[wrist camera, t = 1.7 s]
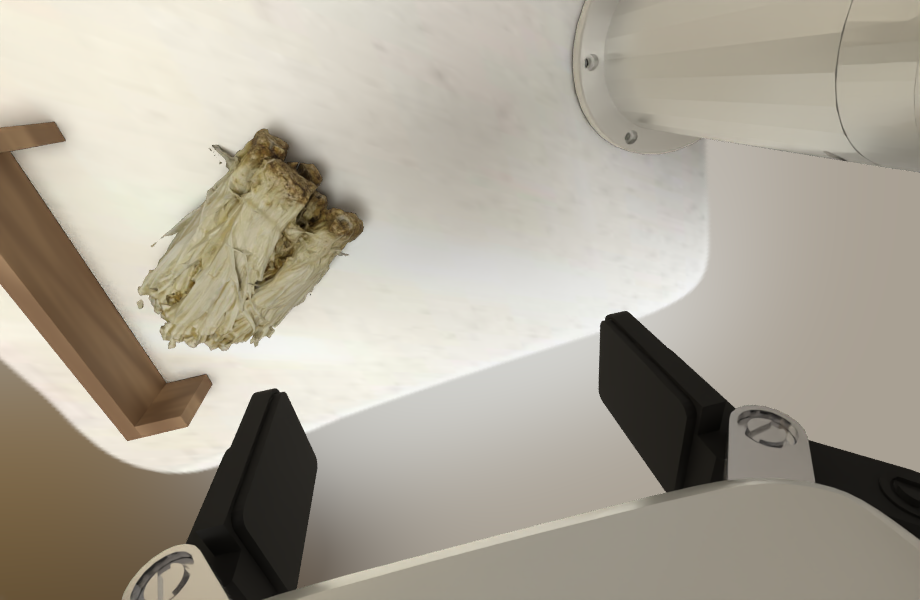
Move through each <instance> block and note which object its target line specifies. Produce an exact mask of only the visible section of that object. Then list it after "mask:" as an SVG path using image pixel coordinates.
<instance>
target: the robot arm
mask: <svg viewBox="0 0 920 600" xmlns="http://www.w3.org/2000/svg"><path fill="white" fill-rule="evenodd" d="M585 59H587V60H588V62H589V63H588V66H587V67H586V68H585V64H584V63H585ZM573 75H574V82H575V89H576V93H577V96H578V99H579V102H580V105H581V108H582V111H583V112H584V114H585V116H586V118H587V119H588V121H589V123H590V125H591V126H592V127H593V128H594V129H595V130H596V131H597V132H598V134H599V135H600V136H601V137H602V138H604V139H605V140H607V141H608V142H610V143H611V144H613V145H614V146H616V147H619V148H621V149H624V150H627V151H630V152H635V153H639V154H664V153H669V152H673V151H677V150H679V149H682V148H684V147H687V146H689V145H691V144H693V143H695V142H696V141H698V140H700V139H701V138H706V139H712V140H718V141H725V142H731V143H737V144H743V145H750V146H755V147H762V148H768V149H774V150H780V151H787V152H793V153H799V154H805V155H812V156H817V157H824V158H830V159H836V160H842V161H848V162H855V163H861V164H867V165H874V166H880V167H886V168H892V169H900V170H907V171H913V172H919V173H920V0H585V3H584V6H583V9H582V12H581V15H580V18H579V21H578V24H577V30H576V36H575V42H574V47H573ZM626 134H627V138H626V139H625V136H626ZM599 394H600V397H601V399H602V401H603V403H604V404H605V406H606V407H607V408H608V410H609V411H610V413H611V414H612V416H613V417H614V418H615V420H616V421H617V423H618V424H619V425H620V427H621V429H622V430H623V431H624V433H625V434H626V436H627V437H628V439H629V440H630V441H631V443H632V444H633V445H634V447H635V449H636V450H637V451H638V453H639V454H640V456H641V457H642V458H643V460H644V461H645V463H646V464H647V466H648V467H649V468H650V470H651V471H652V473H653V474H654V475H655V477H656V478H657V480H658V481H659V483H660V484H661V486H662V487H663V488H664V490H665V491H666V492H667V493H663V494H659V495H654V496H650V497H646V498H642V499H638V500H634V501H630V502H626V503H622V504H618V505H614V506H610V507H606V508H602V509H599V510H595V511H590V512H587V513H582V514H579V515H575V516H571V517H567V518H563V519H559V520H555V521H552V522H547V523H543V524H540V525H536V526H532V527H528V528H524V529H521V530H516V531H513V532H509V533H505V534H501V535H497V536H493V537H489V538H485V539H482V540H478V541H474V542H470V543H466V544H463V545H459V546H455V547H451V548H447V549H443V550H439V551H436V552H432V553H428V554H425V555H421V556H417V557H414V558H409V559H406V560H402V561H398V562H395V563H391V564H387V565H383V566H379V567H376V568H372V569H368V570H364V571H360V572H357V573H353V574H349V575H345V576H342V577H338V578H335V579H331V580H328V581H324V582H321V583H317V584H314V585H310V586H307V587H303V588H299V589H296V588H297V584H298V577H299V572H300V566H301V560H302V554H303V549H304V542H305V537H306V531H307V525H308V519H309V514H310V508H311V502H312V496H313V490H314V484H315V479H316V473H317V459H316V456H315V454H314V452H313V450H312V447H311V445H310V443H309V441H308V439H307V436H306V434H305V432H304V430H303V428H302V426H301V424H300V421H299V419H298V417H297V415H296V413H295V411H294V409H293V406H292V404H291V402H290V400H289V398H288V396H287V394H286V393H285V392H279V390H278V389H275V388H274V389H270V390H265V391H261V392H256V393H254V394H253V395H252V397H251V400H250V402H249V404H248V407H247V409H246V412H245V414H244V416H243V419H242V421H241V423H240V426H239V428H238V431H237V433H236V435H235V438H234V440H233V442H232V445H231V447H230V448H229V449H228V450H227V451H226V452H225V454H224V456H223V458H222V461H221V463H220V465H219V468H218V470H217V472H216V475H215V477H214V479H213V482H212V484H211V486H210V489H209V491H208V493H207V496H206V498H205V500H204V503H203V505H202V507H201V509H200V512H199V514H198V516H197V519H196V521H195V523H194V526H193V528H192V530H191V533H190V535H189V537H188V540H187V542H186V544H183V545H177V546H174V547H172V548H170V549H167V550H165V551H163V552H162V553H160V554H158V555H157V556H155V557H154V558H152V559H151V560H150V561H149V562H148V563H147V564H146V565H144V566H143V567H142V568H141V569H140V570H139V572H138V573H137V574H136V575H135V576H134V578H133V579H132V580H131V582H130V583H129V585H128V587H127V589H126V590H125V592H124V595H123V598H122V600H920V473H918V472H915V471H913V470H910V469H906V468H903V467H900V466H896V465H893V464H889V463H886V462H882V461H879V460H875V459H872V458H868V457H865V456H861V455H858V454H855V453H851V452H848V451H844V450H841V449H837V448H834V447H830V446H827V445H823V444H820V443H816V442H813V441H810V440H808V437H807V435H806V432H805V430H804V429H803V427H802V426H801V425H800V424H799V423H798V422H797V421H795V420H794V419H793V418H791V417H790V416H789V415H787V414H784V413H782V412H780V411H778V410H775V409H772V408H769V407H766V406H758V405H746V406H742V407H739V408H736V409H735V408H734V407H733V406H732V405H731V404H730V403H729V402H728V401H727V400H726V399H724V398H723V397H722V396H721V395H720V394H719V393H718V392H717V391H716V390H715V389H713V388H712V387H711V386H710V385H709V384H708V383H707V382H706V381H705V380H704V379H703V378H701V377H700V376H699V375H698V374H697V373H696V372H695V371H694V370H693V369H691V368H690V367H689V366H688V365H687V364H686V363H685V362H684V361H683V360H682V359H681V358H679V357H678V356H677V355H676V354H675V353H674V352H673V351H671V350H670V349H669V348H667V347H666V346H665V345H664V344H663V343H662V342H661V341H660V340H659V339H657V338H656V337H655V336H654V335H653V334H652V333H651V332H650V331H649V330H647V328H645V327H644V326H643V325H642V324H641V323H640V322H639V321H638V320H637V319H636V318H635V317H633V316H632V315H631V314H630V313H629V312H627V311H623V312H618V313H614V314H609V315H607V316H606V318H605V321H602V322H601V325H600V356H599Z"/></svg>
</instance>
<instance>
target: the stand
mask: <svg viewBox="0 0 920 600" xmlns="http://www.w3.org/2000/svg"><path fill="white" fill-rule="evenodd" d="M63 141H65V139H64V137H63V136H62V134H61V132H60V131H59V129H58V127H57V126H56V124H55V122H49V123H40V124H31V125H21V126H12V127H3V128H0V284H1V285H2V287H3V288H4V289H5V290H6V292H7V293H8V294H9V295H10V297H11V298H12V299H13V300H14V301H15V303H16V304H17V305H18V306H19V308H20V309H21V310H22V311H23V313H24V314H25V315H26V316H27V318H28V319H29V320H30V321H31V322H32V324H33V325H34V326H35V327H36V329H37V330H38V331H39V332H40V334H41V335H42V336H43V337H44V339H45V340H46V341H47V342H48V344H49V345H50V346H51V347H52V348H53V350H54V351H55V352H56V353H57V355H58V356H59V357H60V358H61V360H62V361H63V362H64V363H65V365H66V366H67V367H68V368H69V369H70V371H71V372H72V373H73V374H74V376H75V377H76V378H77V379H78V381H79V382H80V383H81V384H82V386H83V387H84V388H85V389H86V390H87V392H88V393H89V394H90V395H91V397H92V398H93V399H94V400H95V402H96V403H97V404H98V405H99V407H100V408H101V409H102V410H103V412H104V413H105V414H106V415H107V416H108V418H109V419H110V420H111V421H112V423H113V424H114V425H115V426H116V428H117V429H118V430H119V431H120V433H121V434H122V435H123V436H124V437H125V439H126V440H127V441H130V440H134V439H138V438H142V437H147V436H151V435H155V434H159V433H163V432H168V431H172V430H176V429H180V428H185V427H188V426H189V424H190V422H191V420H192V419H193V417H194V415H195V413H196V412H197V410H198V408H199V407H200V405H201V403H202V401H203V400H204V398H205V396H206V394H207V393H208V391H209V389H210V387H211V386H212V383H211V381H210V380H209V378H208V376H207V375H201V376H197V377H193V378H188V379H184V380H179V381H175V382H171V383H166V382H165V381H164V379H163V378H162V376H161V375H160V374H159V372H158V371H157V369H156V368H155V366H154V365H153V363H152V362H151V360H150V359H149V357H148V356H147V354H146V353H145V351H144V350H143V348H142V347H141V345H140V344H139V342H138V341H137V339H136V338H135V336H134V335H133V333H132V332H131V331H130V329H129V328H128V326H127V325H126V323H125V322H124V320H123V319H122V317H121V316H120V314H119V313H118V311H117V310H116V308H115V307H114V305H113V304H112V302H111V301H110V299H109V298H108V296H107V295H106V293H105V292H104V290H103V289H102V287H101V286H100V285H99V283H98V282H97V280H96V279H95V277H94V276H93V274H92V273H91V271H90V270H89V268H88V267H87V265H86V264H85V262H84V261H83V259H82V258H81V256H80V255H79V253H78V252H77V250H76V249H75V247H74V246H73V244H72V243H71V242H70V240H69V239H68V237H67V236H66V234H65V233H64V231H63V230H62V228H61V227H60V225H59V224H58V222H57V221H56V219H55V218H54V216H53V215H52V213H51V212H50V210H49V209H48V207H47V206H46V204H45V203H44V201H43V200H42V198H41V197H40V196H39V194H38V193H37V191H36V190H35V188H34V187H33V185H32V184H31V182H30V181H29V179H28V178H27V176H26V175H25V173H24V172H23V170H22V169H21V167H20V166H19V164H18V163H17V161H16V160H15V158H14V157H13V155H12V154H11V153H10V151H15V150H20V149H26V148H31V147H37V146H42V145H47V144H53V143H58V142H63Z"/></svg>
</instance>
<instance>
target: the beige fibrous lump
mask: <svg viewBox="0 0 920 600" xmlns="http://www.w3.org/2000/svg"><path fill="white" fill-rule="evenodd" d="M212 146H213V147H214V148H215V150H216V151H217V152H218V153H219V154H220V155H222V156H223V157H224V158H225V160H226V167H227V168H228V169H229V171H228V173H227V174H226V175H225V176H224V177H223V178H221V179H220V180H219V181H218V182H217V183H216V184H215V185H214V186H213V187H212V188H211V189H210V190H208V191H207V196H206V201H205V202H204V203H203V204H202V205H201V206H200V207H199V208H197V209H196V210H194V211H193V212H191V213H190V214H188V215H187V216H185V217H184V218H183V219H182V220H181V221H180V222H179V223H178V224H176V225H175V226H174V227H173V228H172V229H171V230H170V231H169V232H167V233H166V234H165V235H164V236H169V235H173V234H175V233H177V232H178V233H177V235H176V236H175V238H174V240H173V241H172V243H171V244H170V246H169V248H168V250H167V252H166V253H165V255H164V256H163V257H162V258H161V259H160V260H159V263H158V266H157V267H156V268H155V270H149V274H148V275H147V276H146V278H145V280H144V282H143V284H142V286H141V287H138V293H139V295H149V300H150V301H151V304H152V305H153V307H154V311H155V312H156V313H157V314H160V313H161V318H163V319H164V320H166V321H167V323H165V325H164V326H161V329H160V333H161V335H162V338H163V340H169V341H170V342H169V345H168V349H171V348H174V347H175V346H176V342H178V343H180V342H183V341H185V342H186V344H187V345H188V346H190V347H192V348H195V347H196V346H197V345H198V344H200V343H205V344H206V345H207V346H209V348H210V350H213V349H216V348H218V347H219V348H220V349H221V350H222V351H227V349H229V347H230V346H231V344H233V343H235V344H237V343H239V342H244V341H245V342H246V341H247V340H248V339H249V338H250V337H251V336H252V335H253V337H252V339H251V341H250V344H252V343H253V342H254V346H255V347H256V346H257V345H258V342H259V341H260V340H261V338H262V337H264V336H267V337H269V338H270V337H271V335H272V334H273V333H274V331H275V330H274V329H273V328H272V326H273V327H276V326H278V325H279V324H280V322H281V321H282V320H283V319H284V318H285V316H286V315H287V314H288V313H289V311H290V310H291V309H292V308H293V307H295V306H298V305H299V304H300V303H302V302H304V300H305V298H306V295H307V293H309V292H312V290H313V288H314V286H315V285H316V284H317V283H318V282H319V281H320V280H321V279H322V277H323V276H324V275H325V274H326V272H327V271H328V270H329V264H330V263H331V261H332V260H333V259H334V257H335V256H336V255H339V256H342V255H345V256H348V254H345V253H342V252H341V251H342V249H343V248H344V247H345V245H346V244H347V243H348V242H351V241H353V240H355V239H356V238H357V237H358V236H359V235H360V234H361V233H362V232H363V228H364V226H363V221H362V220H360V219H359V218H358V217H357V215H356V213H355V214H354V213H352V212H350V213H349V212H344V211H343V210H341V209H337V208H332V209H329V210H327V205H328V202H327V198H326V196H325V195H322V194H320V193H319V192H317V191H316V189H317V188H318V187H319V186H320V184H321V182H322V177H321V175H320V173H319V171H318V169H317V168H316V167H315V165H314V164H305V163H300V165H299V167H298V169H297V170H296V167H297V165H298V163H299V162H287V164H286V163H285V162H284V160H285V158H286V156H287V150H288V148H289V145H288V144H287V143H286V142H285V141H283V140H282V139H280V138H278V137H275V136H272V135H270V134H269V132H268V130H267V129H261V130H260V131H258V132H257V133H256V134H255V136H254V138H253V139H252V140H250V141H249V142H248V143H247V144H246V145H245V147H244V148H243V149H242V150H239V151H238V152H237V153H236V154H235V155H234V156H235V157H231V156H229V155H228V154H226V153H225V152H223V151H222V150H221V149H220V147H219V146H218V145H212ZM209 149H210V148H209ZM210 151H212V150H211V149H210ZM214 156H215V155H214ZM219 164H221V162H220V163H219ZM164 236H163V237H164ZM163 237H162V238H163ZM157 242H158V241H157ZM157 242H156V243H157ZM156 243H155V244H156ZM155 244H153V245H152V246H151V247H153V246H154V245H155ZM310 295H311V294H310ZM137 305H138V308H139V309H141V308H143V307H144V306H143V301H142V300H140V301H138V302H137Z"/></svg>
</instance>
